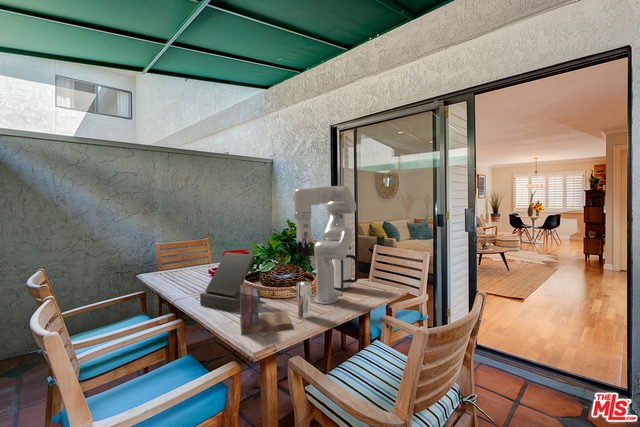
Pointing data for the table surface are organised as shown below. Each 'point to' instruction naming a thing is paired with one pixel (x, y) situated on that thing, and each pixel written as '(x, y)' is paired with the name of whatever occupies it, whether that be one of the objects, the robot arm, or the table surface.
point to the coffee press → (345, 271)
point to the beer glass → (303, 299)
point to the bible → (228, 282)
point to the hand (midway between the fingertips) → (303, 254)
